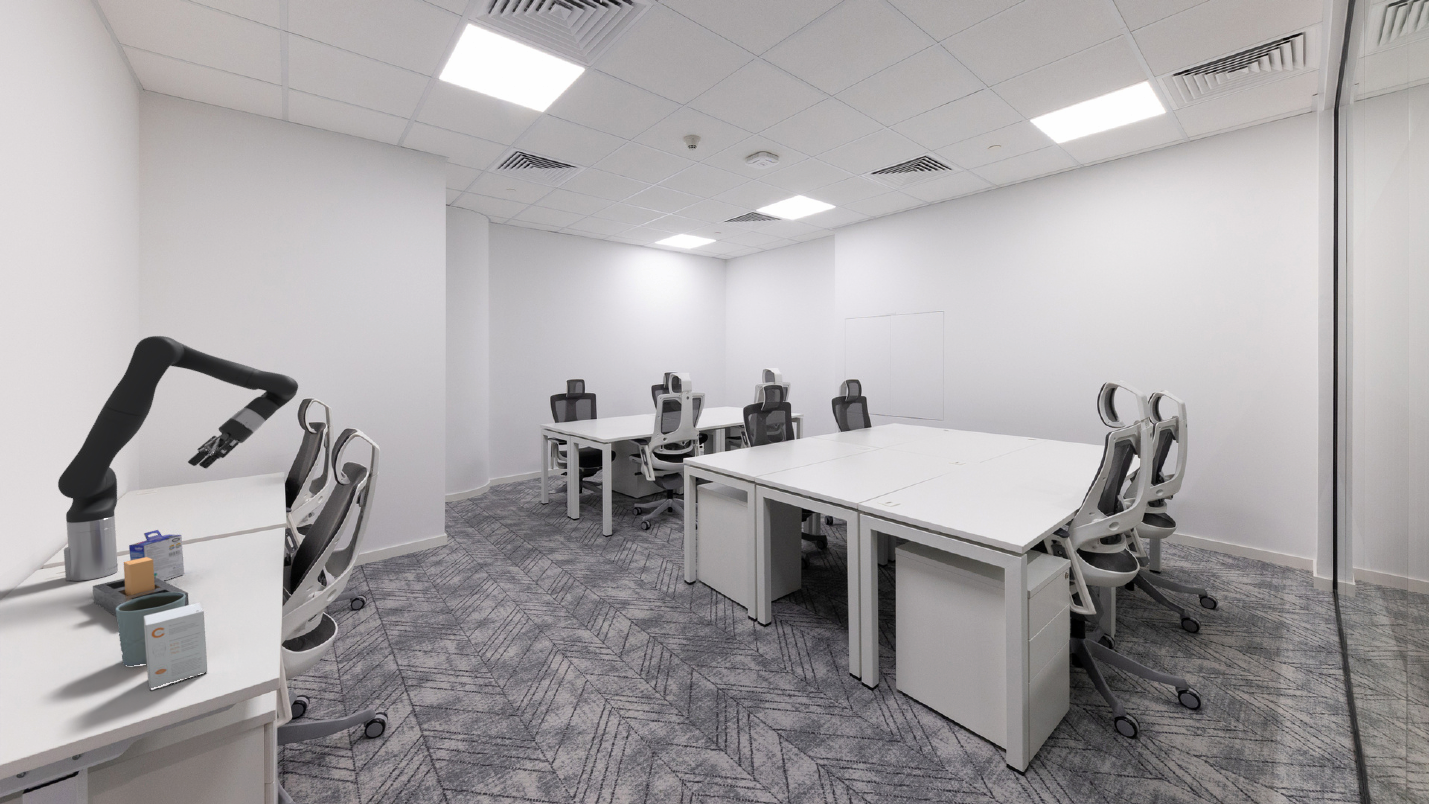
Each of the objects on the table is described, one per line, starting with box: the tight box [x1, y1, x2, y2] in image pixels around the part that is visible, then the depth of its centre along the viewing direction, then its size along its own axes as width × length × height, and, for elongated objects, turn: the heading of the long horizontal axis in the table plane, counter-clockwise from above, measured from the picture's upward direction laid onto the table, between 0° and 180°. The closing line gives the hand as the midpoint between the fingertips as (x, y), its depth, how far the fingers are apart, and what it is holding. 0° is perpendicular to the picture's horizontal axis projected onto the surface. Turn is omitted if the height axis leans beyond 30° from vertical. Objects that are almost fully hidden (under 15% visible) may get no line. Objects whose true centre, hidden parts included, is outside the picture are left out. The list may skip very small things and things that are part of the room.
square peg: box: [123, 557, 155, 596], centre depth 136 cm, size 4×4×11 cm
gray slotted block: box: [92, 577, 190, 618], centre depth 136 cm, size 28×10×4 cm, turn 62°
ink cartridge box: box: [128, 529, 185, 582], centre depth 153 cm, size 10×6×14 cm, turn 174°
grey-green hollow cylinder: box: [115, 592, 186, 666], centre depth 112 cm, size 10×10×12 cm
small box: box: [144, 602, 208, 690], centre depth 104 cm, size 8×6×13 cm
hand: (196, 465), depth 160 cm, fingers open, 8 cm apart
